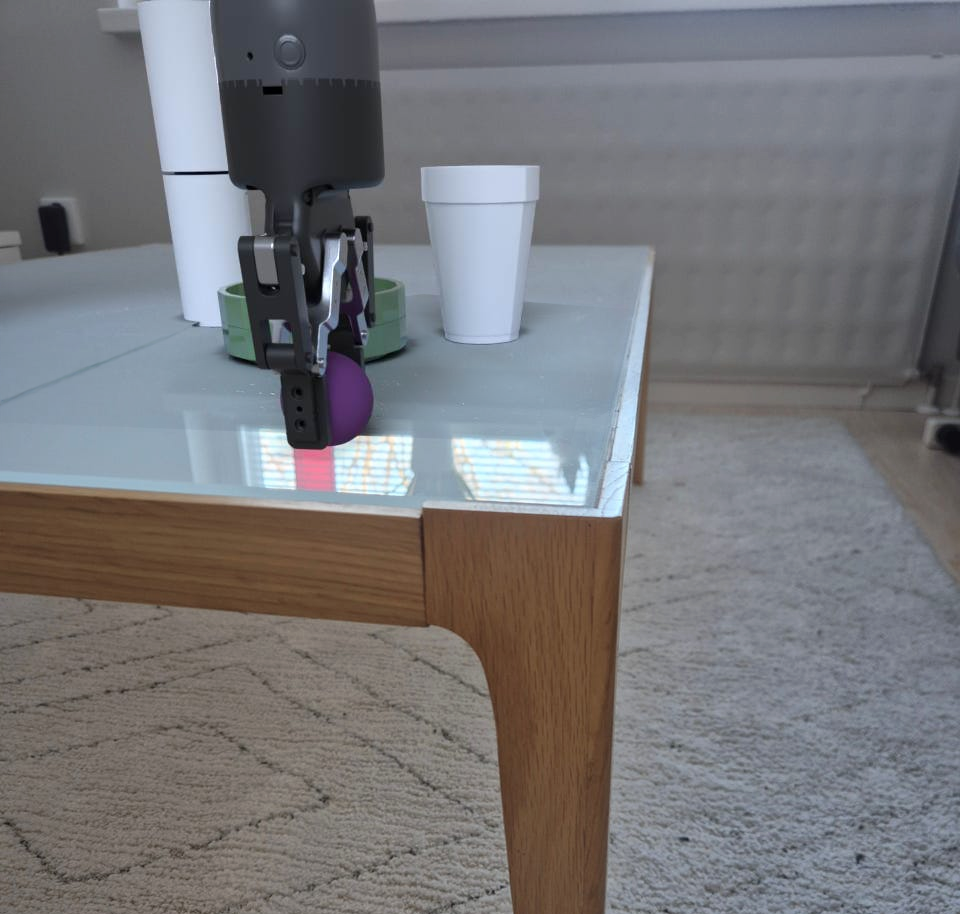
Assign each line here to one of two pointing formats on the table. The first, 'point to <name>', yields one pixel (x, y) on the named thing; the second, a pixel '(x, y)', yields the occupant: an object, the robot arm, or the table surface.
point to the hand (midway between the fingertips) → (330, 428)
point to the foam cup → (481, 246)
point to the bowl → (381, 339)
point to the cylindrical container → (193, 153)
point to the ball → (346, 398)
